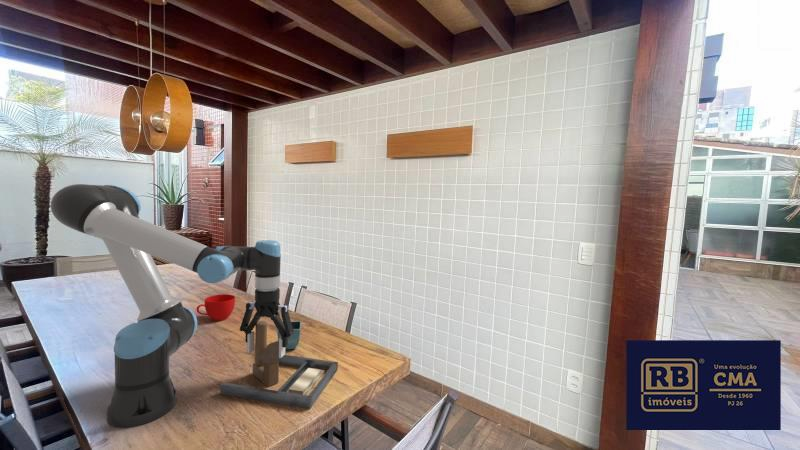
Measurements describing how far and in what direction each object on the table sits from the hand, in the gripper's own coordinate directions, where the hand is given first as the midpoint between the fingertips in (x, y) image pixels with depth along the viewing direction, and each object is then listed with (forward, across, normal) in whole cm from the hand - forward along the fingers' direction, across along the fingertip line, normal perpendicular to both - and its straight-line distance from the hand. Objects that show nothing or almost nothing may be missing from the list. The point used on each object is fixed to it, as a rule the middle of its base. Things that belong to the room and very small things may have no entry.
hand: (266, 353), depth 107 cm
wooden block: (+9, 0, 0) cm, 9 cm away
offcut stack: (+9, -14, 0) cm, 17 cm away
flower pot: (+9, +4, -23) cm, 25 cm away
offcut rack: (+8, -6, 0) cm, 11 cm away
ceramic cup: (+8, +51, -40) cm, 65 cm away
